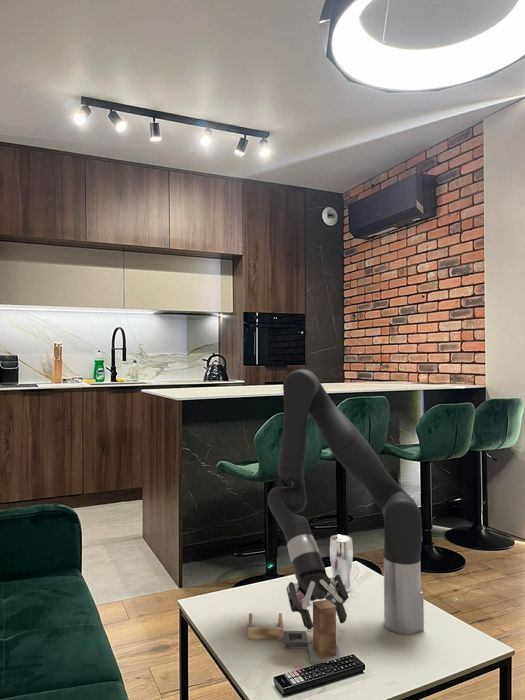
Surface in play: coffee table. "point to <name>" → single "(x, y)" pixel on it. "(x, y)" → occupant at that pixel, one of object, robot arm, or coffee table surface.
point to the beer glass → (341, 558)
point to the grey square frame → (295, 643)
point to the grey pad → (317, 660)
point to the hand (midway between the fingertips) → (327, 625)
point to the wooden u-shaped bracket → (265, 630)
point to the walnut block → (324, 628)
